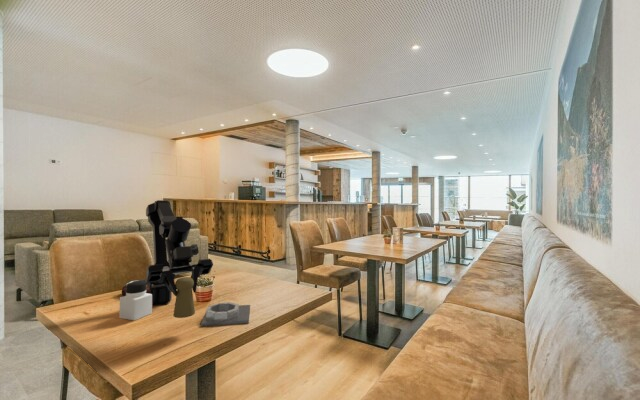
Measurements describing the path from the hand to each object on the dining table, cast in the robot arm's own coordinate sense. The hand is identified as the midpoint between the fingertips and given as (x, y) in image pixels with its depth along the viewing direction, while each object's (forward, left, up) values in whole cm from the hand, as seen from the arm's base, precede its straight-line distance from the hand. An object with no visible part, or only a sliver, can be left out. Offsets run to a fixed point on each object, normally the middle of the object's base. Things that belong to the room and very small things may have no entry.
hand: (185, 293), depth 91 cm
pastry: (-30, +47, -13) cm, 57 cm away
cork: (-1, +1, -7) cm, 7 cm away
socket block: (+11, +13, -13) cm, 21 cm away
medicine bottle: (-21, +19, -13) cm, 31 cm away
